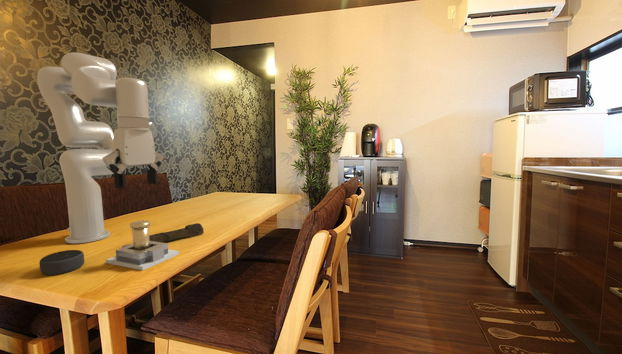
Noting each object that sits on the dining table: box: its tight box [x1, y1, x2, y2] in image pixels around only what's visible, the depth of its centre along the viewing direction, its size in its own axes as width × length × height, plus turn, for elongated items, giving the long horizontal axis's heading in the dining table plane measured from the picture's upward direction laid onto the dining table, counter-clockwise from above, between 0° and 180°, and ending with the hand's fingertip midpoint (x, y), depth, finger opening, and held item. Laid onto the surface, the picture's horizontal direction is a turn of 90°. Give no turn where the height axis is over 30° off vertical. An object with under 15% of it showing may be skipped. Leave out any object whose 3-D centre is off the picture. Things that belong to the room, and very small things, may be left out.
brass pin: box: [129, 219, 151, 251], centre depth 80 cm, size 5×5×10 cm
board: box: [105, 248, 180, 271], centre depth 82 cm, size 14×12×1 cm
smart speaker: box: [38, 249, 85, 276], centre depth 76 cm, size 9×9×4 cm
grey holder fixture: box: [115, 241, 169, 265], centre depth 81 cm, size 14×9×3 cm, turn 69°
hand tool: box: [149, 222, 205, 243], centre depth 99 cm, size 19×4×5 cm, turn 132°
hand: (137, 185), depth 82 cm, fingers open, 9 cm apart
